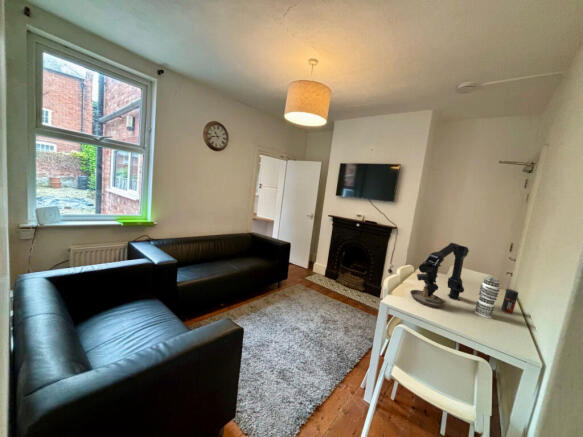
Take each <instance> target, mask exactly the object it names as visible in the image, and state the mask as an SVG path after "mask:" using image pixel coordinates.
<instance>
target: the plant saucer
mask: <svg viewBox="0 0 583 437" xmlns="http://www.w3.org/2000/svg"><path fill="white" fill-rule="evenodd" d="M409 293H410V295H411V297H412V298H413V299H414V300H415V301H416V302H418V303H419V304H422V305H425V306H428V307H432V308H440V307H442V306H443V305H445V301H444V300H443V299H442V298H441V297H439V296H437V295H435V294H433V296H432V299H429V298H425V297H423V295H422V293H423V290H420V289H412V290H410V292H409Z"/></svg>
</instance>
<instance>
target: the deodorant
mask: <svg viewBox="0 0 583 437" xmlns="http://www.w3.org/2000/svg"><path fill="white" fill-rule="evenodd" d="M518 296H519V292H518V291H517V290H513V289H510V288H506V290H505V294H504V298H503V300H502V301H503V302H502V305H501V308H500V310H501V311H502V312H504V313H507V314H509V315H512V314H514V311H515V307H516V303H517V299H518Z"/></svg>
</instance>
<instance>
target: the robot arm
mask: <svg viewBox="0 0 583 437" xmlns="http://www.w3.org/2000/svg"><path fill="white" fill-rule="evenodd" d="M469 252H470V250H469V248H468V246H464V245H460V244H458V243H454V242H450V243H449V244H448V245H447V246H445V247H443V248H441V249H440V250H439V251H434V252H431V253H430V254H428V256H427V257H426V258H425V260H424V261H423V262H422V263H421V264H420V265H419V266H418V270H419V272H420V273H417V274H416V277H417V281H423V282H424V286H426V287H427V288H428V296H429V297H430V296H431V295H432V294H433V295H434V293H435V292H436V291H438V290H439V286H438V284H437V278H438V272H439V268H440V267H441V266H442V265H441V264H442V262H444V260H445V258H446V257H447V256H449V255H451V254H453V256H454V262H453V263H454V264H453V268H452V274H451V276H450V277H448V279H447V282H446V283H447V288H449V289H450V290H449V293H447V296H448V297H449V299H453V300H456V301H460V298H459V297H460V294H461V293H462V294H463V293H464V292H465V288H464V286H463V280H462V278H461V276H462V271H463V264H464V259H465V258H466V257H467V256H468V254H469Z"/></svg>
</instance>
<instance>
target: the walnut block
mask: <svg viewBox="0 0 583 437" xmlns="http://www.w3.org/2000/svg"><path fill="white" fill-rule="evenodd" d="M422 291H423V293H422V295H423V297H425V298H429V299H432V296H433V295H434V293H433V294H432V295H431V296H430V297H429V296H428V288H427V287H426V286H425V285H424V286H423V290H422Z"/></svg>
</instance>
